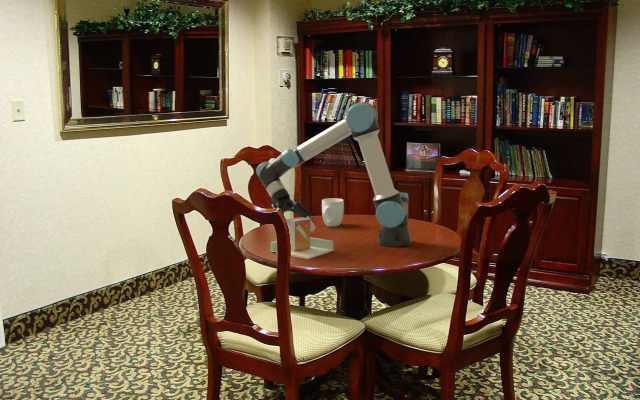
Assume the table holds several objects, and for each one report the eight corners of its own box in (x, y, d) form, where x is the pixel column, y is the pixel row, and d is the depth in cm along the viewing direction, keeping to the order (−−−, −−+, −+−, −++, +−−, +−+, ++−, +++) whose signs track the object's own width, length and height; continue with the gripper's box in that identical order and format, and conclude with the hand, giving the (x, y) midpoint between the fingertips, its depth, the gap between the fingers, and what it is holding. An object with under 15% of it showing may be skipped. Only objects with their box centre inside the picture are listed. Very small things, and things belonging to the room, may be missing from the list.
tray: (333, 250, 287) (333, 240, 286) (308, 259, 273) (308, 249, 272) (296, 244, 299) (296, 235, 298) (270, 252, 284) (270, 242, 283)
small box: (294, 251, 282) (294, 221, 280) (286, 248, 287) (286, 218, 285) (310, 248, 287) (310, 218, 285) (302, 245, 292) (302, 216, 290)
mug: (333, 229, 329) (333, 203, 327) (314, 227, 335) (314, 201, 333) (347, 224, 342) (347, 199, 340) (328, 222, 348) (328, 197, 345)
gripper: (295, 195, 303) (318, 233, 295) (252, 202, 286) (275, 242, 277) (303, 185, 298) (327, 222, 290) (259, 191, 281) (283, 231, 273)
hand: (301, 232), depth 284 cm, fingers open, 13 cm apart
